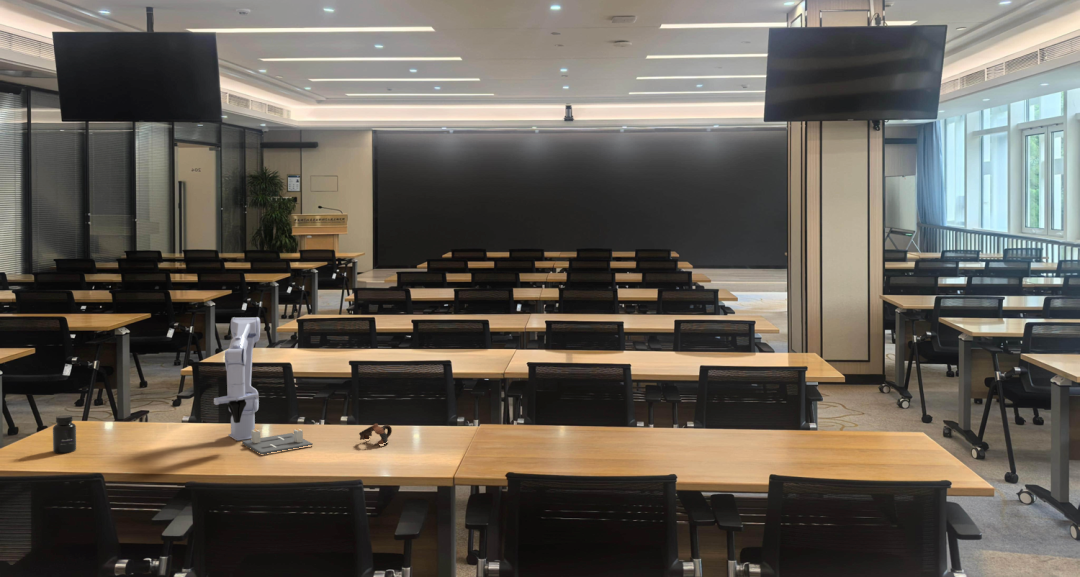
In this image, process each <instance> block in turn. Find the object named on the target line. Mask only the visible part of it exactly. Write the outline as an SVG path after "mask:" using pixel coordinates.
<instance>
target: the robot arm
mask: <svg viewBox="0 0 1080 577" xmlns="http://www.w3.org/2000/svg"><path fill="white" fill-rule="evenodd" d="M230 331H231V337H232V339H231V340H230V343H229V346H228V349H227V350H225V352H224V363H225V371H226V385H227V386H226V387H227V388H226V389H227V395H224V396H220V397H219V396H218V397H214V398H213V404H214V405H216V406H218V405H221V404H226V405H227V406H228V411H229V412H230V413H231V416H230V433H228V437H231V438H232V439H234V441H246V440H252V435H251V430H254V429H255V430H256V424H255V422H256V421H255V420H256V419H255V417H256V416H255V413H256V412H257V411H258V410H259V407H260V406H259V405H260V404H259V402H260V401H259V400H260V398H259V391H258V390H257V389H256V388H255V387H253V386H252V374H253V373H252V372H253V369H252V368H253V355H254V346H255V343H257V342H259V341H260V337H261V319H260V317H258V316H256V317H235V316H234V317H231V320H230Z"/></svg>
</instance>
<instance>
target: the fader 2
mask: <svg viewBox="0 0 1080 577" xmlns="http://www.w3.org/2000/svg"><path fill="white" fill-rule="evenodd" d="M303 432H304V431H303V430H302V429H300V428H295V429H293V434H294V441H295V442H297V443H298V442H303V439H304V437H303V434H304V433H303Z"/></svg>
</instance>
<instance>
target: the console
mask: <svg viewBox="0 0 1080 577" xmlns="http://www.w3.org/2000/svg"><path fill="white" fill-rule="evenodd" d="M241 441H242V445H243V444H244V445H245V446H244V445H243V446H244V447H246V446H247V447H246V448H248V447H249V448H251V449H252V450H251V449H250V450H251V451H253V450H254V451H256V452H258V453H260V454H267V453H271V452H277V451H282V450H288V449H293V448H299V447H303V446H308V445H313V443H312V442H311V441H308V440H306V439H304V438H303V442H298V443H297V442H295V441H294V432H293V433H292V432H290V433H283V434H277V435H271V436H265V437H260V443H253V442H252V439H245V440H241ZM249 448H248V449H249ZM254 451H253V452H254ZM256 452H255V453H256ZM258 453H257V454H258Z"/></svg>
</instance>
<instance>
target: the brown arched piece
mask: <svg viewBox="0 0 1080 577" xmlns="http://www.w3.org/2000/svg"><path fill="white" fill-rule="evenodd" d="M386 430H387V432H386ZM373 432H374V433H375V434H376V435H379V436H380V438H381V439H379V440H378V441H377V445H379V444H383V443H386V442H387V441H388V442H389V440H388V438H389V437H390V436H391V434H392V432H393V429H392V426H391V425H389V424H384V425H382V426H379V424H378V423H374V424H373V425H371V426H368V428H366V429H363V430H362V431H360V432H359V434H358V435H359V440H360V441H361V440H363V441H364V440H365V439H369V438H370V439H371V437H372V436H373Z"/></svg>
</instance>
